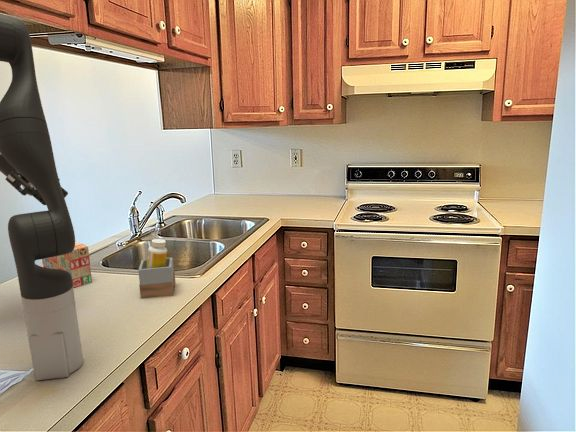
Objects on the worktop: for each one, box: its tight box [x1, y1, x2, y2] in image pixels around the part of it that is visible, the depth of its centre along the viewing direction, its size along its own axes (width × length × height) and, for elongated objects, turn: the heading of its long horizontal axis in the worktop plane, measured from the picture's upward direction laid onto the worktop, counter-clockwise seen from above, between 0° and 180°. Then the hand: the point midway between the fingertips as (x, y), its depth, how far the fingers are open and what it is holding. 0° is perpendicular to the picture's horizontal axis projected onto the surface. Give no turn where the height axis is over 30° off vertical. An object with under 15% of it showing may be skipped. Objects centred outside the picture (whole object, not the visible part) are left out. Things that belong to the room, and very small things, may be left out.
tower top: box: [137, 257, 175, 285], centre depth 128 cm, size 9×9×4 cm
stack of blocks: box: [41, 240, 93, 289], centre depth 139 cm, size 21×6×12 cm, turn 51°
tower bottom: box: [139, 271, 177, 299], centre depth 129 cm, size 9×9×4 cm
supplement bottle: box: [146, 238, 168, 269], centre depth 127 cm, size 5×5×10 cm
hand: (57, 199), depth 112 cm, fingers open, 8 cm apart
